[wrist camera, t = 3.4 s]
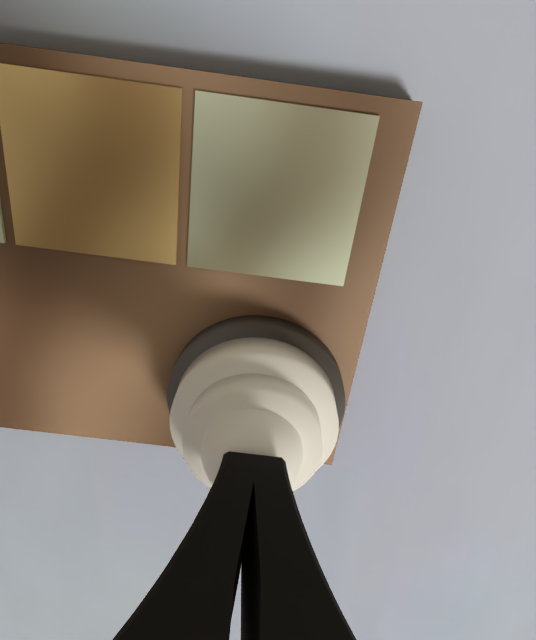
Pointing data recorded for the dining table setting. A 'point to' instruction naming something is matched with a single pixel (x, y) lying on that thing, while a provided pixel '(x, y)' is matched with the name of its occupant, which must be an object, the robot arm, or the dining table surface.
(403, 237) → the dining table surface
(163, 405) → the game board
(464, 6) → the dining table surface
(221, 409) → the dome
